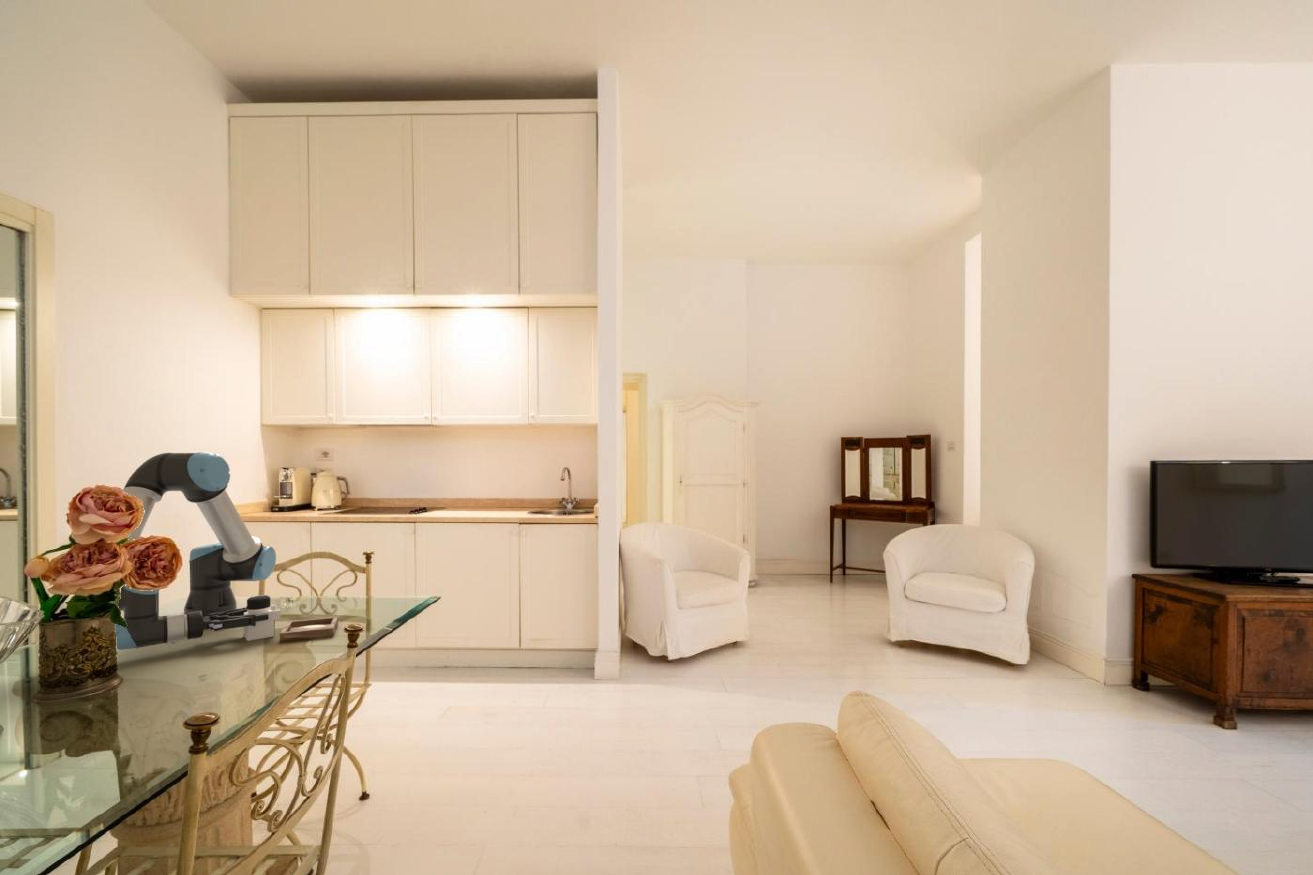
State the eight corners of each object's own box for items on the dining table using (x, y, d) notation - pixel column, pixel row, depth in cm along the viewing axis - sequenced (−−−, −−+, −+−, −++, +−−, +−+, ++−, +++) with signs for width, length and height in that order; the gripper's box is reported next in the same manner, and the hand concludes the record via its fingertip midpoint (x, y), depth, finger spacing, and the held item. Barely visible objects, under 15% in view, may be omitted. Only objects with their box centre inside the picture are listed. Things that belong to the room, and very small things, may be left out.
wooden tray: (288, 629, 204) (288, 621, 204) (338, 624, 209) (338, 616, 209) (280, 642, 191) (279, 633, 191) (333, 636, 196) (333, 628, 196)
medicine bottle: (274, 636, 197) (274, 596, 197) (247, 641, 192) (246, 600, 192) (270, 631, 202) (270, 592, 202) (243, 636, 197) (242, 596, 198)
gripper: (181, 631, 193) (271, 617, 208) (189, 647, 178) (284, 631, 193) (181, 606, 193) (270, 593, 208) (189, 620, 178) (284, 605, 193)
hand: (277, 611), depth 200 cm, fingers closed on medicine bottle, 7 cm apart
